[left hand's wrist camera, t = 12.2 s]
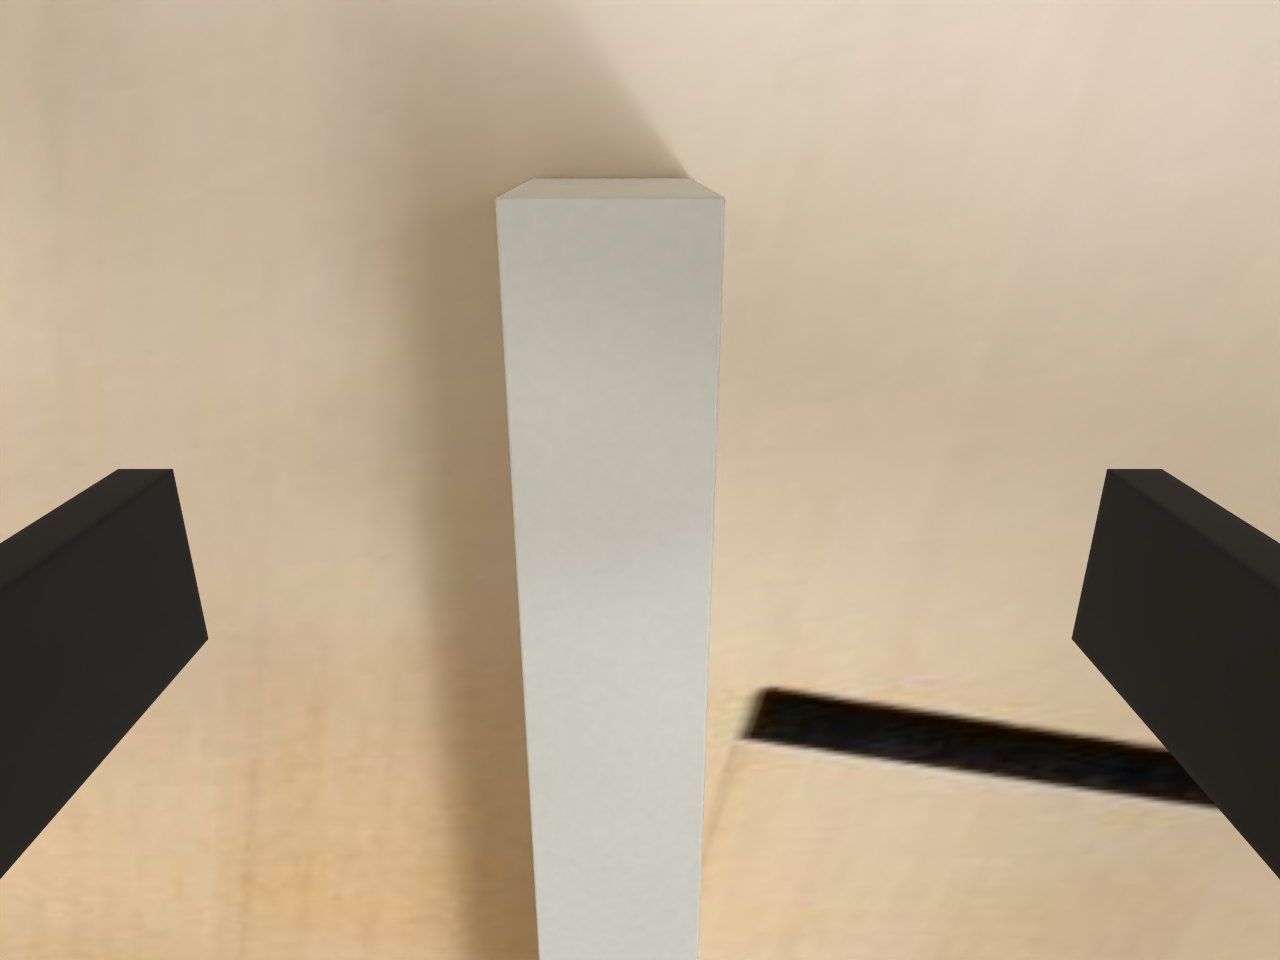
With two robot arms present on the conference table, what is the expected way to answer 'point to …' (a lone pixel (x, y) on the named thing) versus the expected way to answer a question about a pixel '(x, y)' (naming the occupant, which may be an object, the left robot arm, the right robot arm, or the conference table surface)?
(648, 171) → the conference table surface
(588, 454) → the post
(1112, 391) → the conference table surface
